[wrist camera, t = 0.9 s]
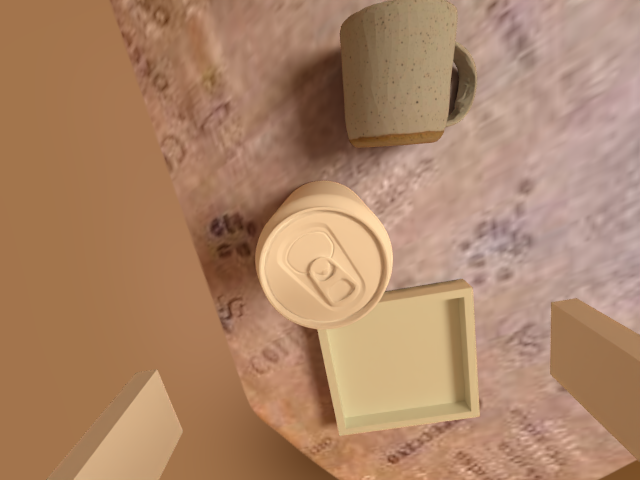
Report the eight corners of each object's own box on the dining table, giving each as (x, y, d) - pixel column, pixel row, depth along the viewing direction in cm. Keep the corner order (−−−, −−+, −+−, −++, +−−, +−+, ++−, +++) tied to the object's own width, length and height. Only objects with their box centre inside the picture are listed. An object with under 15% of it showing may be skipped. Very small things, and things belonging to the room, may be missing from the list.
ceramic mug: (343, 151, 26) (353, 149, 19) (336, 44, 24) (344, -5, 17) (465, 140, 26) (524, 133, 19) (469, 32, 24) (537, -24, 17)
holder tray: (314, 303, 30) (313, 313, 28) (462, 278, 29) (472, 287, 27) (338, 419, 34) (339, 435, 32) (470, 401, 33) (479, 416, 31)
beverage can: (330, 160, 27) (336, 163, 15) (384, 230, 28) (428, 282, 17) (261, 218, 28) (218, 261, 16) (317, 281, 30) (313, 361, 18)
